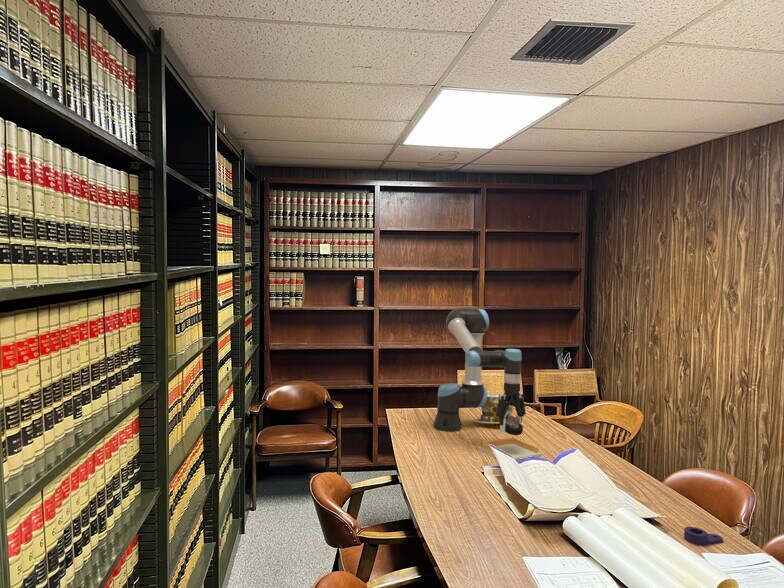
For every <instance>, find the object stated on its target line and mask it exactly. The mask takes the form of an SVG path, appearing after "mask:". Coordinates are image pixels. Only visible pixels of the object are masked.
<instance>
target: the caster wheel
mask: <svg viewBox="0 0 784 588" xmlns="http://www.w3.org/2000/svg"><path fill="white" fill-rule="evenodd" d="M509 414H510V413H508V414H507V415H506V416H505V417H504V418H505V419H506V423H505V433H507V434H509V435H512V436H520V435H521V434H523V431H524V426H523V424H522V423H521V424H520V423H519V419H518V418H517V417H516V416H513V415H512V416H510V415H509Z"/></svg>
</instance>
